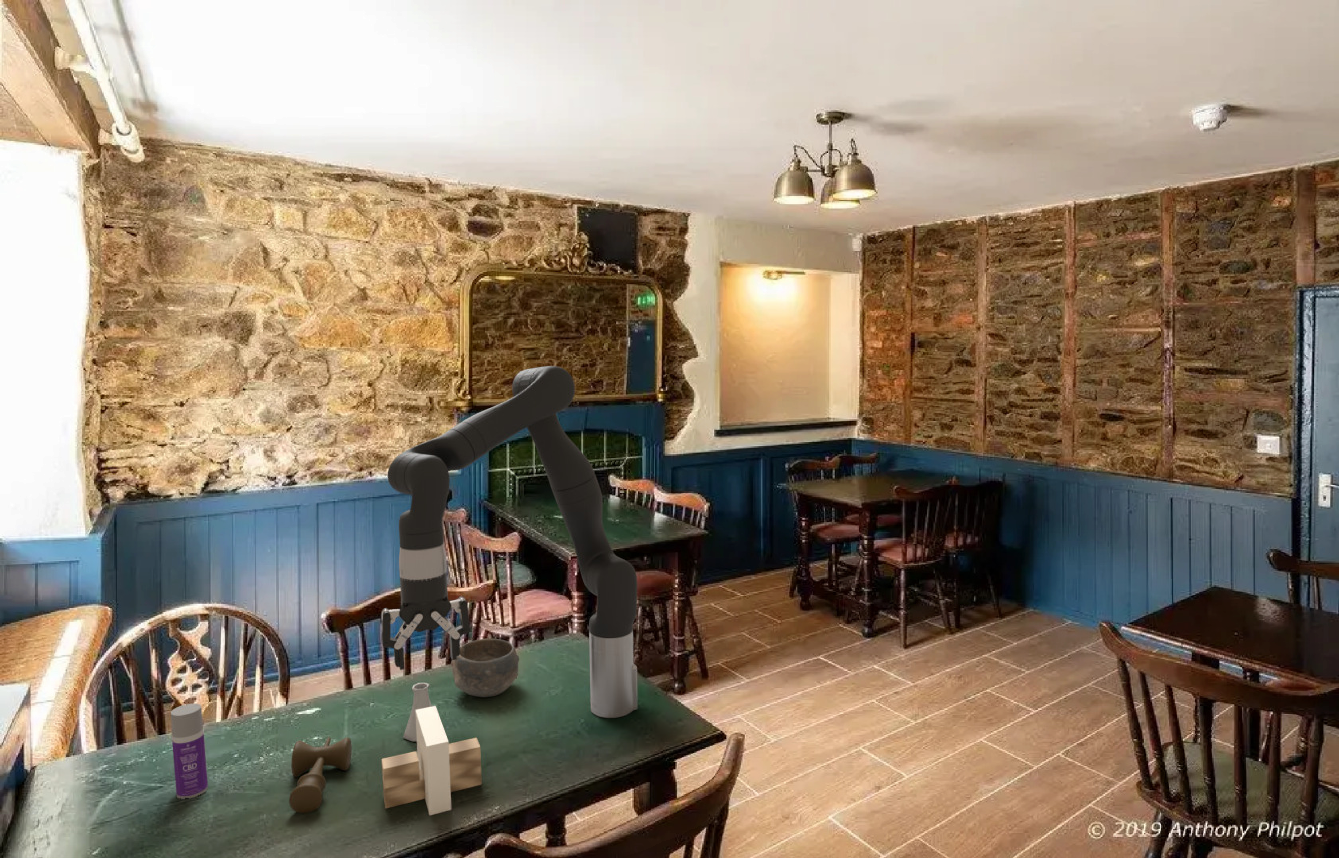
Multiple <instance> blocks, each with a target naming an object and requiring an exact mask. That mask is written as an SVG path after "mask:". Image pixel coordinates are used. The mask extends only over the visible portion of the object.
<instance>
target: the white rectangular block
mask: <svg viewBox="0 0 1339 858" xmlns="http://www.w3.org/2000/svg"><path fill="white" fill-rule="evenodd" d="M415 712H416V734H417V741H416V752H417V756H418V760H419V770H420V769H422V773H423V777H424V780H425V799H424V800H425V803H426V807H427V811H428V815H429V816H433V815H437V814H440V813H444V812H448V811H452V797H451V796H452V795H451V793H452V792H451V790H450V765H449V744H450V742H449V739H448V737H447V733H446V731H445V728H444V725H443V723H442V720H441V718H440V714H439V711H438V709H437V706H436V705H432V707H427V708H422V709H417V710H415Z"/></svg>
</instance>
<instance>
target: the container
mask: <svg viewBox="0 0 1339 858" xmlns="http://www.w3.org/2000/svg"><path fill="white" fill-rule="evenodd" d="M170 724H171V726H170V727H171V741H172V742H171V744H172V756H173V757H172V759H173V767H174V768H173V769H174V781H175V791H176V792H175V793H176V798H177V799H180V798H181V800H186V799H185V798H189V799H192V798H196V797H199V796H201V795H202V794H205V792H206V791H207V790H208V788H209V780H208V767H207V755H206V754H207V753H206V741H205V731H204V728H205V727H204V720H203V712H202V705H201V704H199V703H188V704H183V705H180V706H177V707H175V708H174V709H172V710H171V711H170ZM200 794H201V795H200ZM198 795H199V796H198Z"/></svg>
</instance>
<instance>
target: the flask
mask: <svg viewBox="0 0 1339 858" xmlns="http://www.w3.org/2000/svg"><path fill="white" fill-rule="evenodd" d="M429 687H430V683H427V682H418V683H415V684H413V685H412V687H411V691H412V692H413V700H412V707H411V711H410V715H409V717H408V721H407V724H406V727H405V731H404V733H403V737H402V738H403V739H405V740H408V741H410V742H413V743H414V742H417V734H416V712H415V710H417V709H422V708H427V707H432V706H433V705H432V703H431V699H430V697H429Z"/></svg>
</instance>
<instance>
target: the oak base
mask: <svg viewBox="0 0 1339 858" xmlns="http://www.w3.org/2000/svg"><path fill="white" fill-rule="evenodd" d="M481 752H482V751H481V745H480V742H479V740H478V738H477V737H474V738H469V739H464V740H460V741H456V742H451V743H450V742H449V765H450V790H451V793H452V792H456V791H457V792H458V791H461V790H465V789H470V788H473V787H477V786H481V785H482V763H481V762H482V755H481ZM381 771H382V791H383V793H382V794H383V801H384V809H389V808H394V807H397V806H400V805H401V806H402V805H405V804H408V803H409V804H410V803H413V802H417V801H421V800H426V799H425V780H424V777H423V773H422V769H420V770H419V760H418V756H417V750H416V751H411V752H407V753H401V754H397V755H394V756H393V755H392V756H389V757H384V758H381Z"/></svg>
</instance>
